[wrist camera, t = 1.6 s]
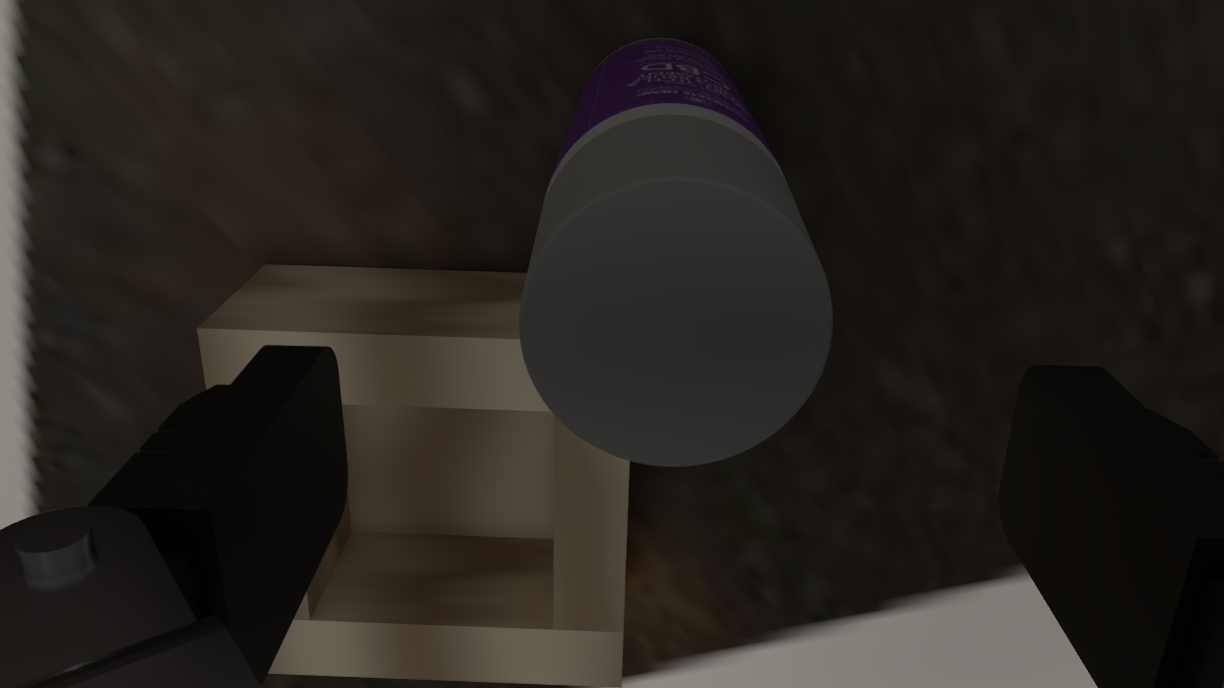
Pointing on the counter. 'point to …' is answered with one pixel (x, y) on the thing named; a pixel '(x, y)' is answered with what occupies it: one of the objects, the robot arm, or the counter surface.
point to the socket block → (442, 484)
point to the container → (671, 268)
